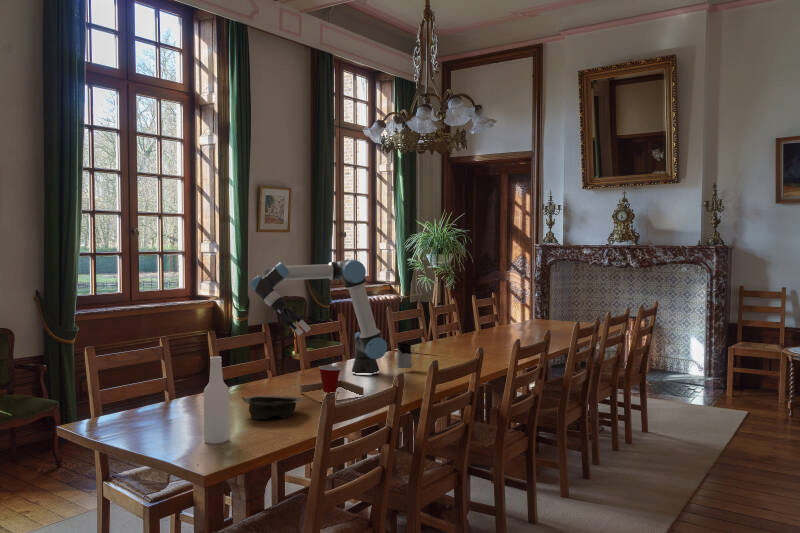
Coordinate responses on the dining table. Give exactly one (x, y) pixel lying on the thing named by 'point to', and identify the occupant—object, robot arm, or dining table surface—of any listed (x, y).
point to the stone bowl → (271, 406)
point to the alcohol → (216, 405)
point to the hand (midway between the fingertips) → (305, 332)
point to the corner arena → (340, 383)
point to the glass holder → (405, 355)
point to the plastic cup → (329, 378)
